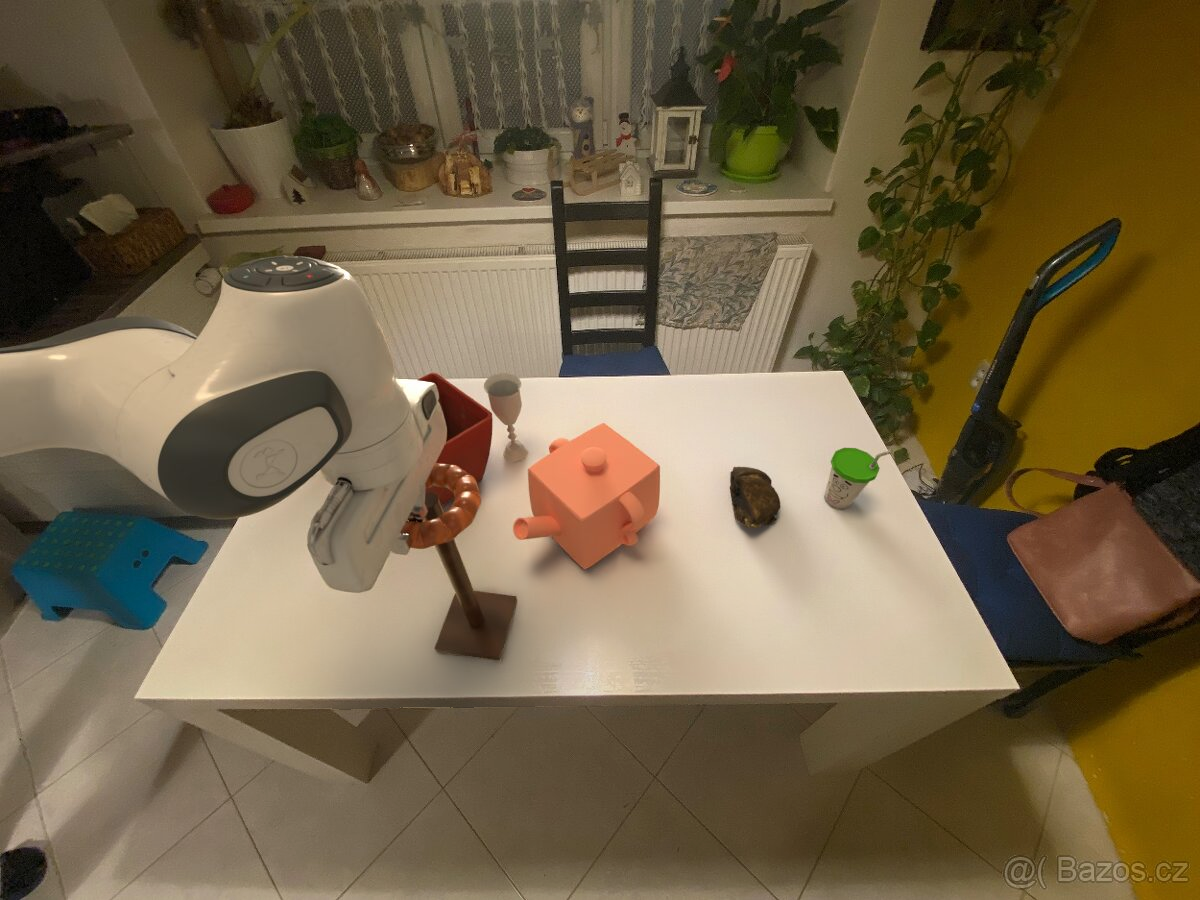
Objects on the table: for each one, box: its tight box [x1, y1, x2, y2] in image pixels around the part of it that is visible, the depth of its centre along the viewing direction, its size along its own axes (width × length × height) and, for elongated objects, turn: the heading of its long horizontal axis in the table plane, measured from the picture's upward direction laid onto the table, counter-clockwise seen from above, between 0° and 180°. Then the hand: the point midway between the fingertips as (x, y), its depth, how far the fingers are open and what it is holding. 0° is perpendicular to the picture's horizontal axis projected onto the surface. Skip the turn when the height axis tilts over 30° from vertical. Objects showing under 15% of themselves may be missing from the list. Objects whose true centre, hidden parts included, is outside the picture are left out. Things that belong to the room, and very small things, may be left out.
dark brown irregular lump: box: [729, 466, 781, 529], centre depth 94 cm, size 16×9×7 cm, turn 178°
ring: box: [400, 463, 482, 550], centre depth 58 cm, size 12×12×3 cm
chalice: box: [483, 372, 528, 463], centre depth 100 cm, size 7×7×18 cm
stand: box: [423, 492, 518, 662], centre depth 69 cm, size 10×10×32 cm
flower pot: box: [417, 372, 494, 507], centre depth 95 cm, size 19×19×17 cm
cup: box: [823, 447, 893, 510], centre depth 91 cm, size 8×8×15 cm
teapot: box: [512, 422, 661, 570], centre depth 85 cm, size 25×23×18 cm
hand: (411, 532), depth 54 cm, fingers closed on ring, 3 cm apart
